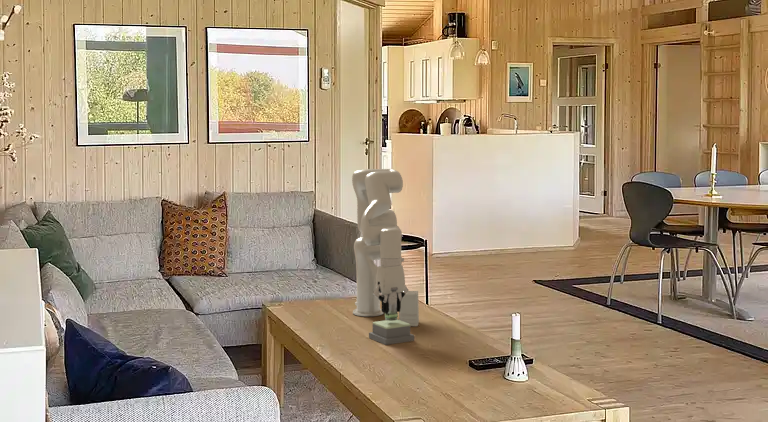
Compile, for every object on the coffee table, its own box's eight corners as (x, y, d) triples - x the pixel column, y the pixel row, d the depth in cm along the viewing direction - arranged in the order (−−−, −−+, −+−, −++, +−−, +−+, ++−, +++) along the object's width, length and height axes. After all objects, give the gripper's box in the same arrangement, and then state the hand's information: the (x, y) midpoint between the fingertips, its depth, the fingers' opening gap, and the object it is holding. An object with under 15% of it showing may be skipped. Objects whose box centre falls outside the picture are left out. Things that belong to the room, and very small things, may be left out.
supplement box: (419, 322, 381) (419, 290, 380) (417, 326, 374) (417, 294, 372) (400, 322, 382) (400, 290, 380) (398, 326, 374) (398, 294, 373)
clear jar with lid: (381, 318, 354) (381, 286, 353) (393, 317, 357) (393, 284, 356) (388, 321, 350) (388, 288, 348) (401, 319, 352) (401, 287, 351)
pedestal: (368, 338, 356) (368, 321, 356) (397, 333, 362) (396, 318, 362) (385, 344, 346) (385, 328, 345) (414, 340, 352) (414, 324, 351)
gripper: (405, 258, 358) (405, 307, 361) (365, 262, 350) (365, 312, 352) (416, 261, 352) (416, 311, 354) (375, 265, 344) (376, 316, 346)
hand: (391, 311), depth 353 cm, fingers closed on clear jar with lid, 4 cm apart
